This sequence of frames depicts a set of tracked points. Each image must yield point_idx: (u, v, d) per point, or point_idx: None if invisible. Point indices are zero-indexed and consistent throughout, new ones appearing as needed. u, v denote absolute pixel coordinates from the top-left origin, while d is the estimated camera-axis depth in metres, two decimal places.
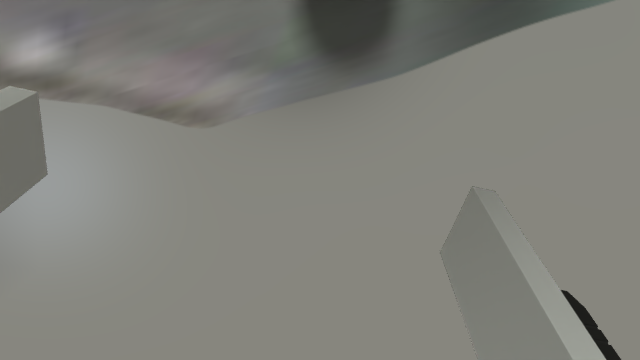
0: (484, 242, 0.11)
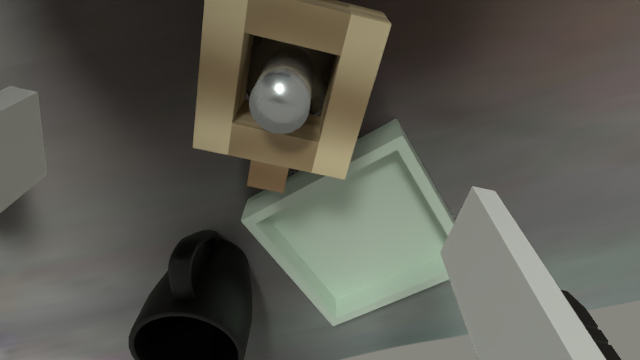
0: (484, 242, 0.11)
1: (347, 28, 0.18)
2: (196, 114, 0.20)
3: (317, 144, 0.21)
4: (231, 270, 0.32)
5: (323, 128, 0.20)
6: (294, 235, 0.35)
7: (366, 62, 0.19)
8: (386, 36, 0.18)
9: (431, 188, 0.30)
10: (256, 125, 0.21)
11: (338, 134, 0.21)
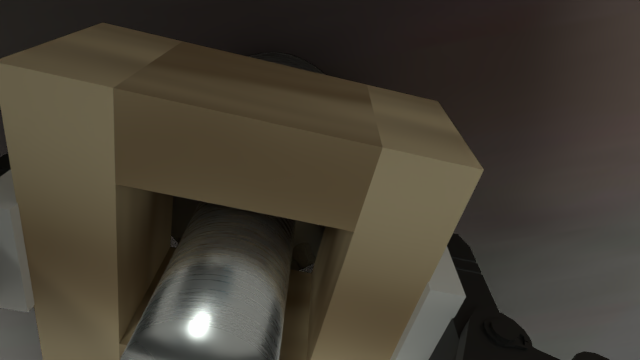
0: None
1: (371, 174, 0.07)
2: (40, 329, 0.09)
3: None
4: None
5: (314, 353, 0.10)
6: None
7: (414, 245, 0.08)
8: (467, 194, 0.07)
9: None
10: None
11: None
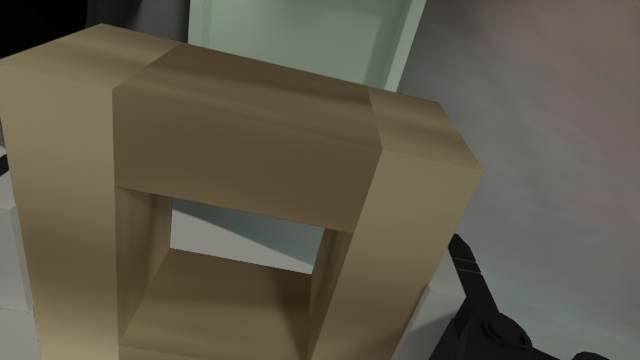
0: None
1: (371, 176, 0.07)
2: (39, 331, 0.09)
3: None
4: None
5: (314, 355, 0.10)
6: (225, 11, 0.27)
7: (413, 247, 0.08)
8: (468, 196, 0.07)
9: (403, 64, 0.26)
10: (175, 341, 0.10)
11: None
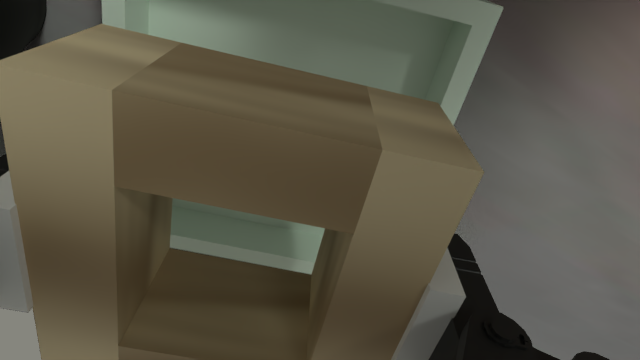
0: None
1: (371, 176, 0.07)
2: (39, 331, 0.09)
3: None
4: None
5: (314, 355, 0.10)
6: None
7: (413, 248, 0.08)
8: (468, 197, 0.07)
9: None
10: (174, 341, 0.10)
11: None
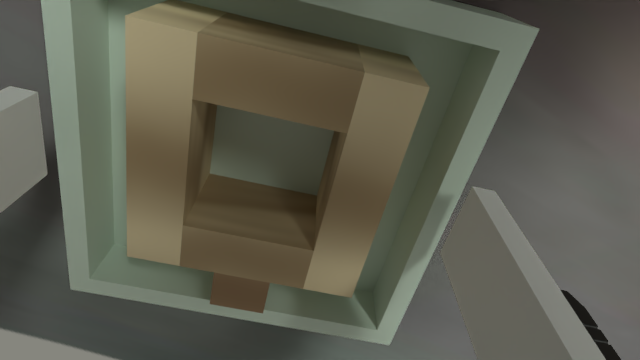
0: (484, 242, 0.11)
1: (358, 92, 0.11)
2: (128, 213, 0.13)
3: (311, 253, 0.14)
4: None
5: (320, 232, 0.14)
6: None
7: (387, 143, 0.12)
8: (420, 105, 0.11)
9: (467, 175, 0.14)
10: (221, 226, 0.14)
11: (342, 241, 0.14)
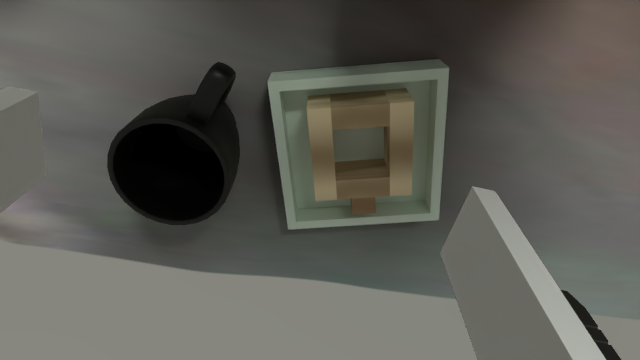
0: (484, 242, 0.11)
1: (389, 110, 0.31)
2: (314, 181, 0.34)
3: (389, 178, 0.34)
4: (233, 126, 0.32)
5: (390, 168, 0.33)
6: (297, 127, 0.35)
7: (405, 125, 0.31)
8: (413, 108, 0.31)
9: (443, 128, 0.33)
10: (350, 177, 0.34)
11: (400, 169, 0.33)
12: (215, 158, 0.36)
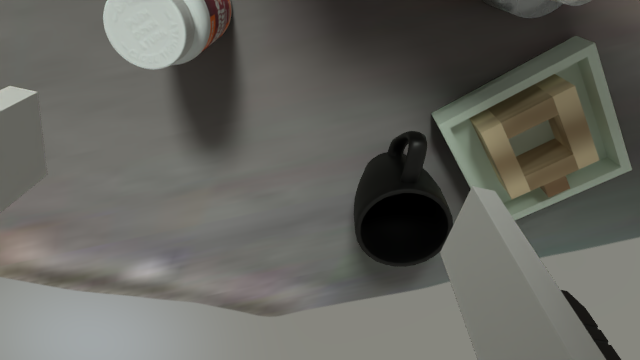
0: (484, 242, 0.11)
1: (553, 102, 0.35)
2: (505, 184, 0.38)
3: (573, 155, 0.37)
4: (424, 170, 0.38)
5: (571, 147, 0.36)
6: (468, 146, 0.40)
7: (573, 107, 0.35)
8: (575, 91, 0.34)
9: (608, 93, 0.35)
10: (535, 169, 0.38)
11: (581, 144, 0.36)
12: (410, 197, 0.43)
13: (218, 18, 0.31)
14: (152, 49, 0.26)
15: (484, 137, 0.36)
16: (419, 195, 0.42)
